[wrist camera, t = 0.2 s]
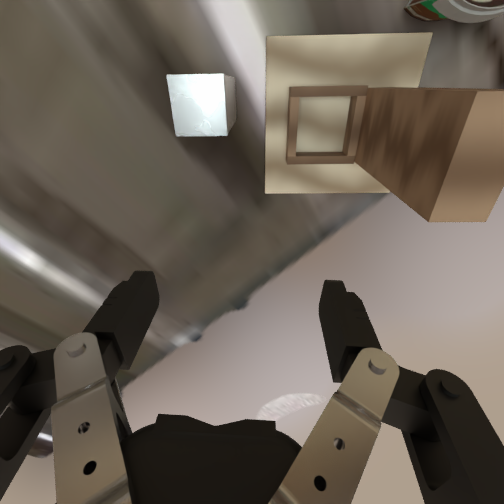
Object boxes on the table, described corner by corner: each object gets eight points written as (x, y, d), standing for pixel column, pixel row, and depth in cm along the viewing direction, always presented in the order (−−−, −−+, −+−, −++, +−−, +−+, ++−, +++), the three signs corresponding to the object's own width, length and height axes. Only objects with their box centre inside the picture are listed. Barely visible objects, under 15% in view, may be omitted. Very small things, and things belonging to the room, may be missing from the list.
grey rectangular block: (197, 78, 32) (166, 74, 21) (235, 77, 32) (223, 73, 21) (202, 120, 35) (176, 136, 24) (237, 119, 35) (227, 135, 24)
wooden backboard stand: (266, 37, 30) (277, -30, 12) (427, 33, 30) (681, -43, 12) (264, 191, 40) (269, 277, 22) (386, 190, 39) (492, 277, 21)
